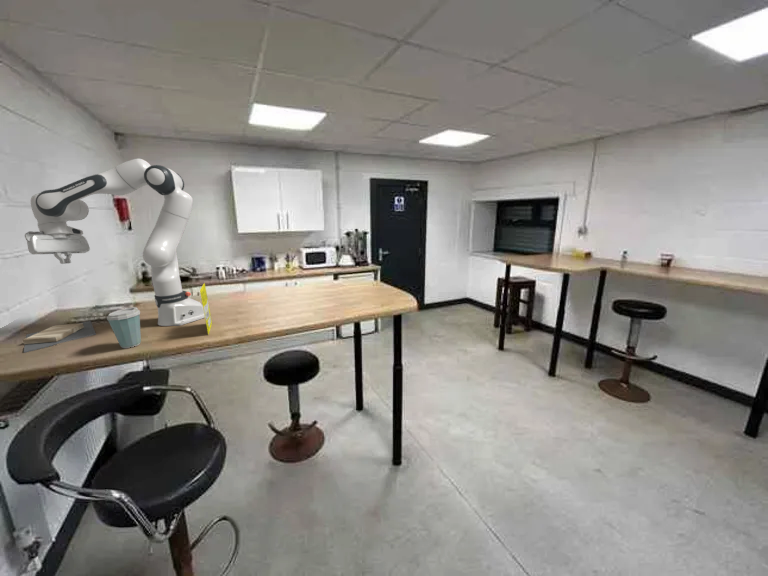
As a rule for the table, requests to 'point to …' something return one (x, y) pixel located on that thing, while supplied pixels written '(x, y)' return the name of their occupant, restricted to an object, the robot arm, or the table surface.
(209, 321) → the food package
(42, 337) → the ash tile
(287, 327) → the table surface
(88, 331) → the charcoal mat
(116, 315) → the disposable coffee cup
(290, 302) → the table surface
